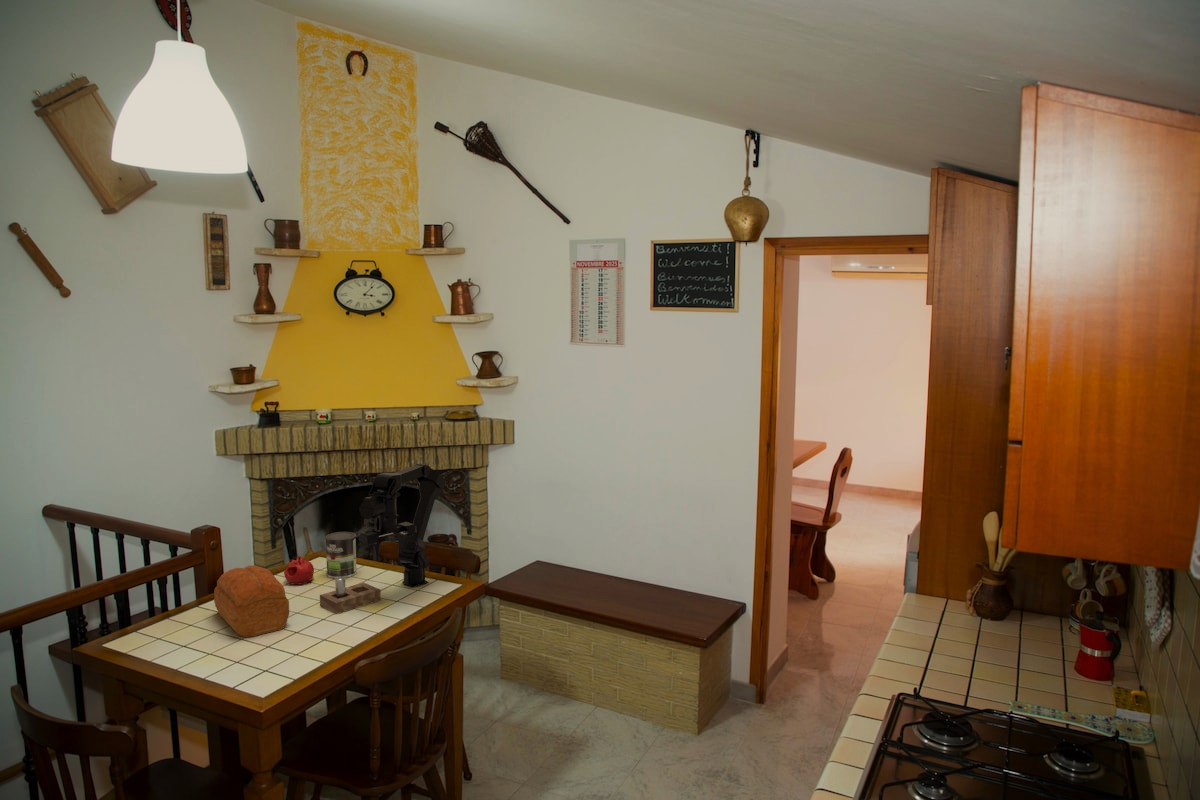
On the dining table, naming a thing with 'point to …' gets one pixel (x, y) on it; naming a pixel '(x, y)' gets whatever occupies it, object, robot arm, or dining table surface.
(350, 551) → the coffee can
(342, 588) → the peg
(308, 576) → the pomegranate
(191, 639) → the dining table surface
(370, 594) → the socket block
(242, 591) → the bread
